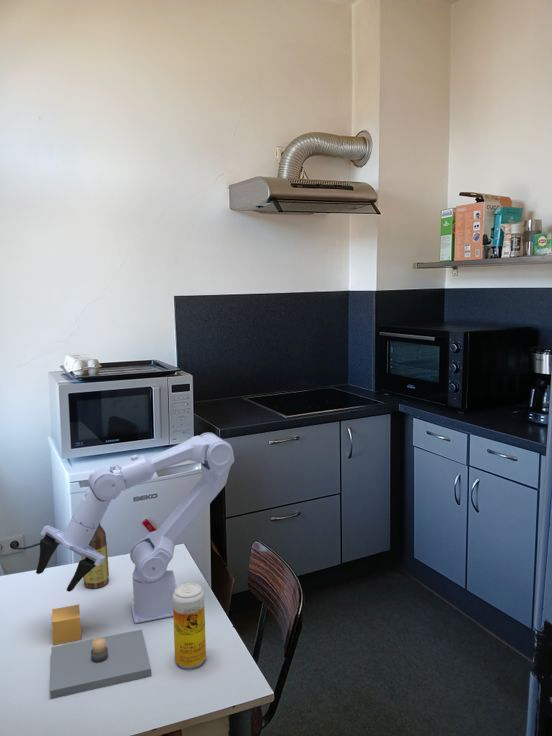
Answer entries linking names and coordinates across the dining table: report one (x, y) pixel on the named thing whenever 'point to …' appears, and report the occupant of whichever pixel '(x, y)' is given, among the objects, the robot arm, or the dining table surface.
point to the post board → (98, 663)
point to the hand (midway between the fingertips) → (54, 581)
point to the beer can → (189, 625)
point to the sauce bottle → (100, 573)
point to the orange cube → (66, 624)
